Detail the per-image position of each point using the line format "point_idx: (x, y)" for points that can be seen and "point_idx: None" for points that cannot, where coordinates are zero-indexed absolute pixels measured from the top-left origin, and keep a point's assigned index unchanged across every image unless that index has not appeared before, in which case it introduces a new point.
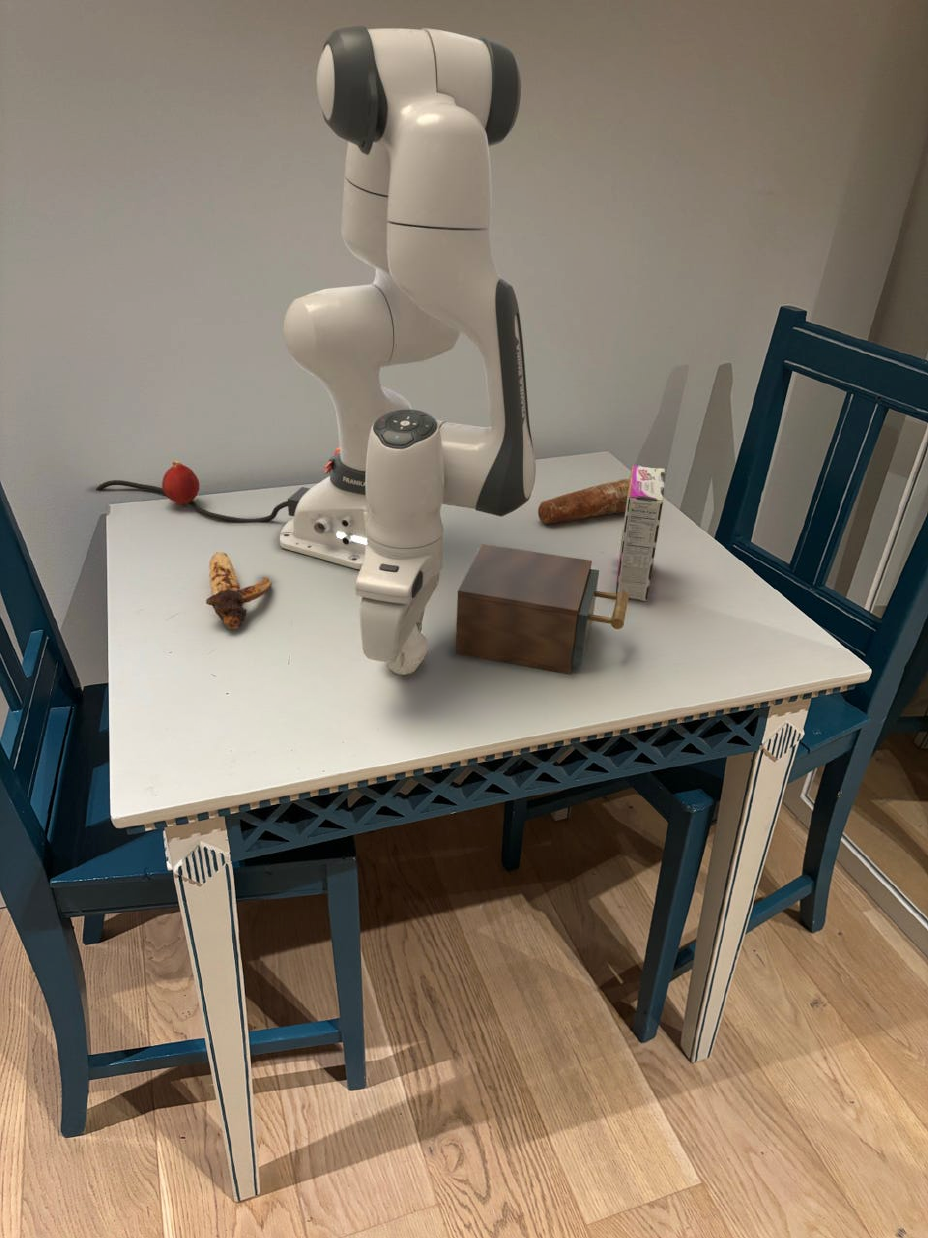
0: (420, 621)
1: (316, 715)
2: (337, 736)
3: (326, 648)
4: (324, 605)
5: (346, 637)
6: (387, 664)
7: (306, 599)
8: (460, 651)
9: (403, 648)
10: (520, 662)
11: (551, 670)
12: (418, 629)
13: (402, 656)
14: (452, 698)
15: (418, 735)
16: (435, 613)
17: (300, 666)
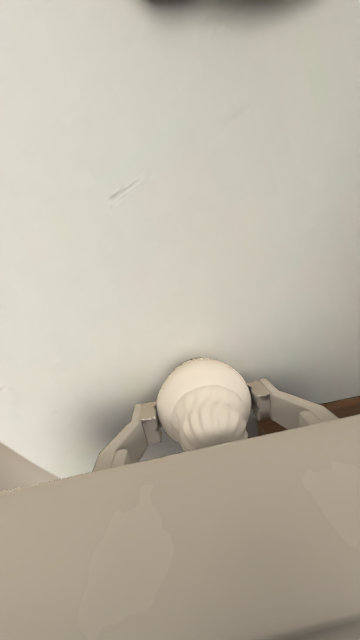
0: (275, 420)
1: (22, 324)
2: (4, 376)
3: (188, 237)
4: (319, 148)
5: (233, 253)
6: (134, 410)
7: (330, 90)
8: (259, 428)
9: (173, 434)
10: None
11: None
12: (255, 415)
13: (149, 443)
14: (164, 454)
15: (75, 455)
16: (346, 349)
17: (117, 223)
